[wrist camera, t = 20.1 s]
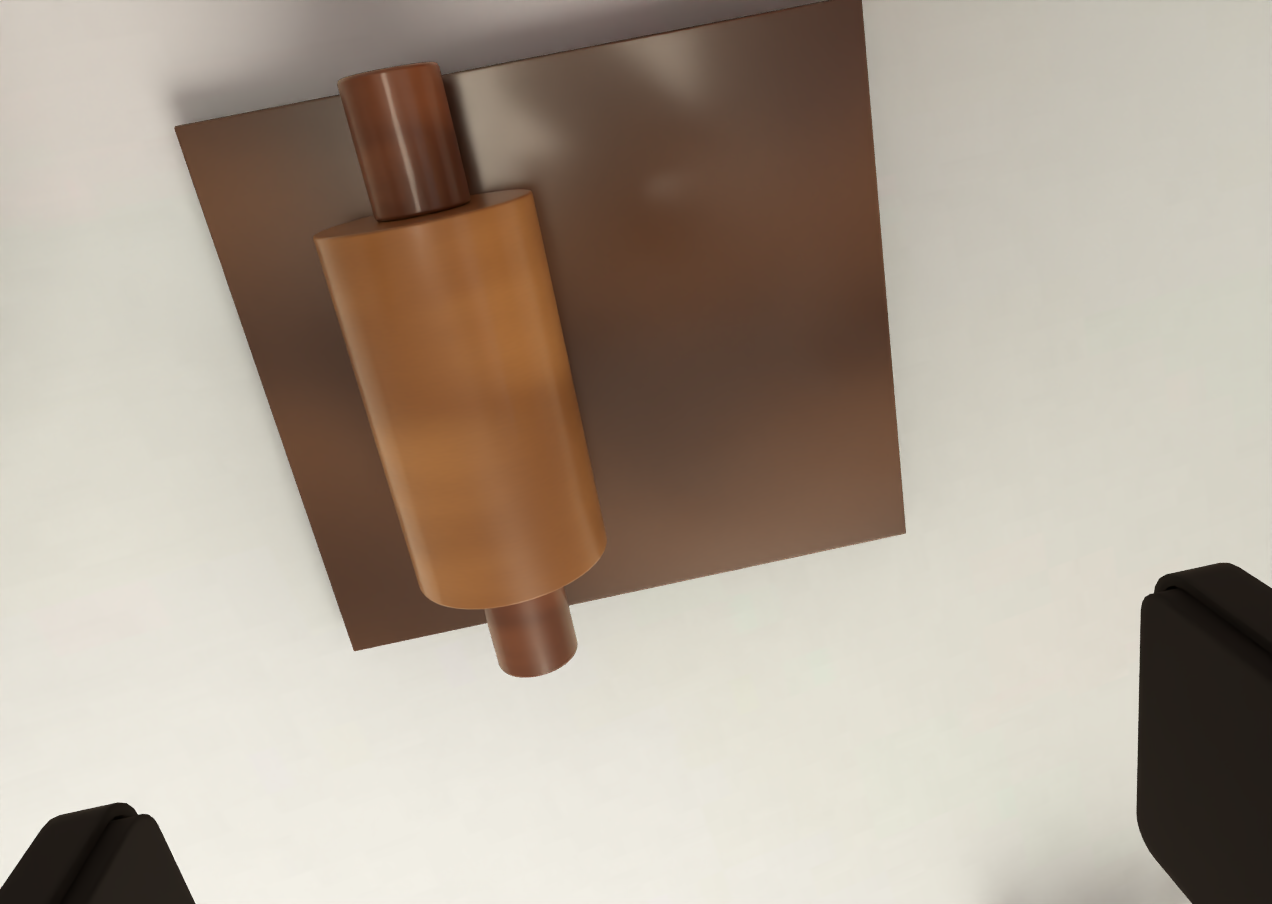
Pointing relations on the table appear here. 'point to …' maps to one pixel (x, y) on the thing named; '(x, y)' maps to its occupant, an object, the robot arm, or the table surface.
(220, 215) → the pastry board
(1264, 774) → the robot arm
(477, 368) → the rolling pin
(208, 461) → the table surface
